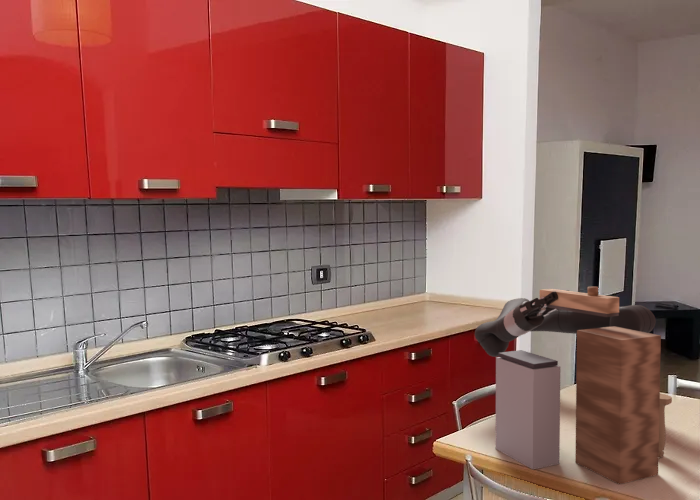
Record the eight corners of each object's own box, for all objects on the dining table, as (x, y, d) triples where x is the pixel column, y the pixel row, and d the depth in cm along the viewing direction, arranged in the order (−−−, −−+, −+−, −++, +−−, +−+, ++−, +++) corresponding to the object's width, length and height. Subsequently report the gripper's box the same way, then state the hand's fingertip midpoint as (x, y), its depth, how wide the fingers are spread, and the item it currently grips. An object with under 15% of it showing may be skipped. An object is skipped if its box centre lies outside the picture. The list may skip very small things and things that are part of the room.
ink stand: (520, 443, 155) (521, 349, 154) (559, 463, 142) (560, 361, 141) (495, 448, 152) (496, 352, 151) (532, 469, 139) (533, 364, 138)
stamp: (551, 304, 161) (551, 281, 161) (619, 315, 141) (619, 288, 141) (539, 306, 159) (539, 282, 159) (606, 317, 139) (606, 289, 139)
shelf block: (612, 454, 148) (614, 326, 146) (658, 474, 136) (660, 335, 134) (575, 462, 143) (577, 330, 141) (619, 484, 131) (621, 340, 130)
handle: (666, 462, 143) (667, 400, 142) (638, 454, 147) (639, 394, 147) (673, 456, 146) (674, 396, 145) (645, 449, 151) (646, 391, 150)
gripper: (547, 329, 169) (588, 305, 156) (507, 333, 163) (547, 309, 150) (538, 304, 173) (577, 279, 159) (498, 308, 166) (536, 282, 153)
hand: (562, 294), depth 154 cm, fingers closed on stamp, 4 cm apart
